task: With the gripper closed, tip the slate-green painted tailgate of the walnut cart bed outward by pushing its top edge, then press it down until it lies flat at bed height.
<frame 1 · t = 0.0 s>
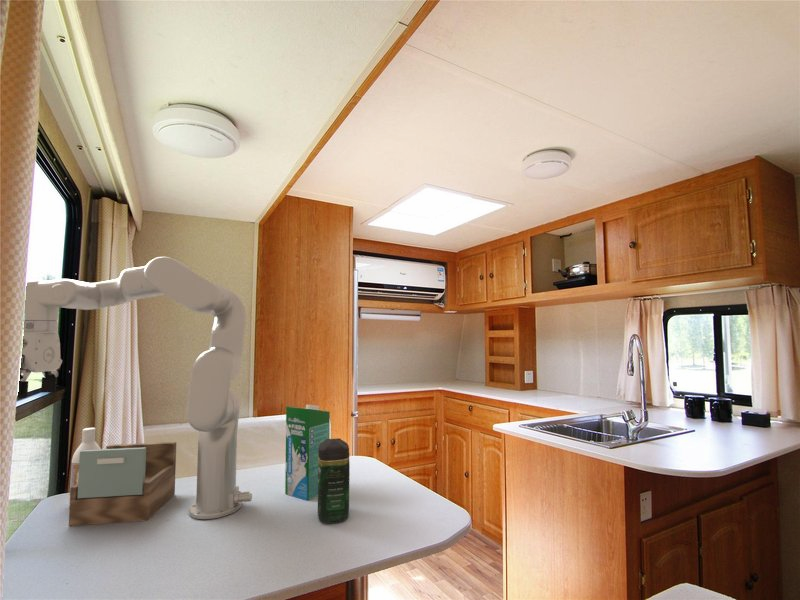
hand: (34, 394, 103), 31 cm above the table, tool pointing down, fingers open, 9 cm apart
milk carton: (307, 492, 118), on the table
cart bed: (126, 509, 107), on the table
tailgate: (111, 472, 101), point 12 cm above the table, hinge at 0.0°
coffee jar: (333, 516, 102), on the table
bath foam: (85, 502, 112), on the table
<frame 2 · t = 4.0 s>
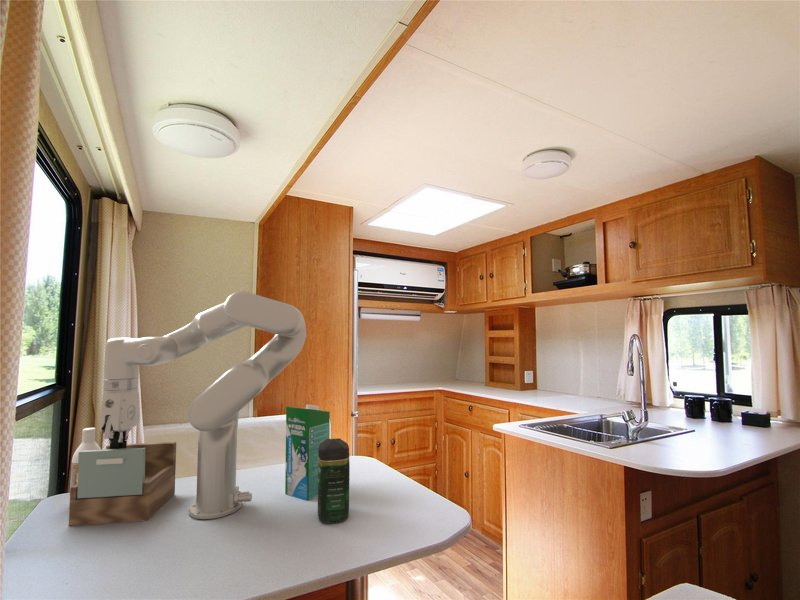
hand: (117, 457, 104), 15 cm above the table, tool pointing down, fingers closed
tailgate: (111, 472, 101), point 12 cm above the table, hinge at 2.3°, touching gripper
everything else where it was.
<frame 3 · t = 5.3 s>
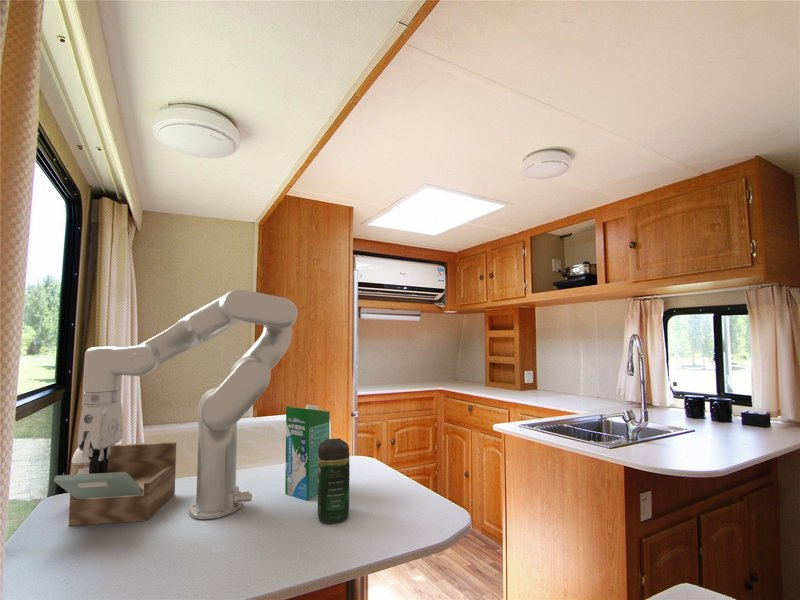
hand: (98, 476, 95), 13 cm above the table, tool pointing down, fingers closed
tailgate: (100, 487, 96), point 10 cm above the table, hinge at 49.8°, touching gripper
everything else where it was.
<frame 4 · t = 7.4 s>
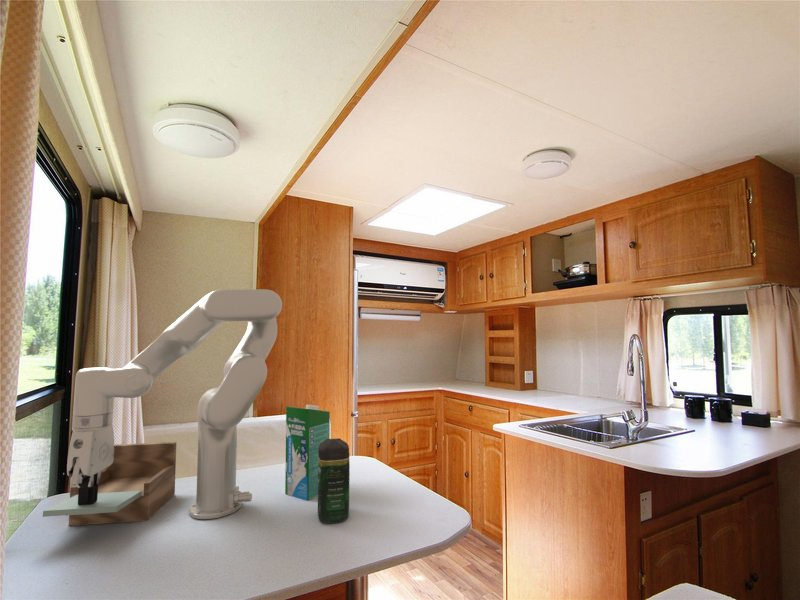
hand: (87, 503, 92), 8 cm above the table, tool pointing down, fingers closed
tailgate: (95, 504, 94), point 7 cm above the table, hinge at 85.9°, touching gripper
everything else where it was.
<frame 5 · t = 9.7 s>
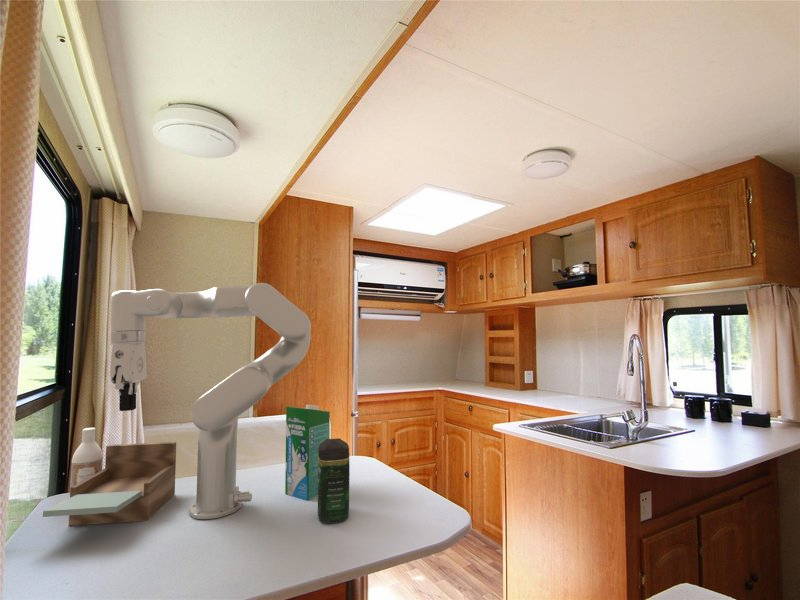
hand: (127, 410, 103), 27 cm above the table, tool pointing down, fingers closed
tailgate: (95, 504, 94), point 7 cm above the table, hinge at 86.1°
everything else where it was.
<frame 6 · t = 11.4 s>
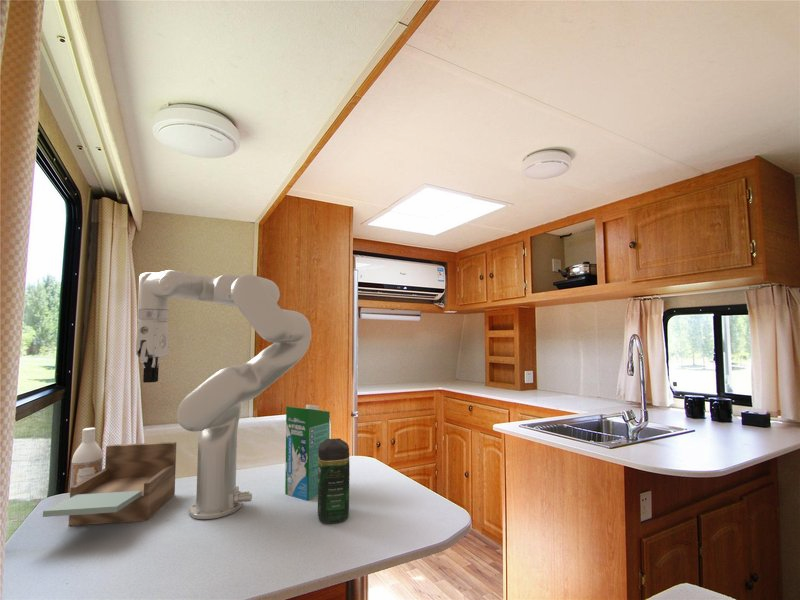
hand: (150, 381, 113), 33 cm above the table, tool pointing down, fingers closed
nothing on the table moved.
at the end: tailgate at +86° (first picture: +0°) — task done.
